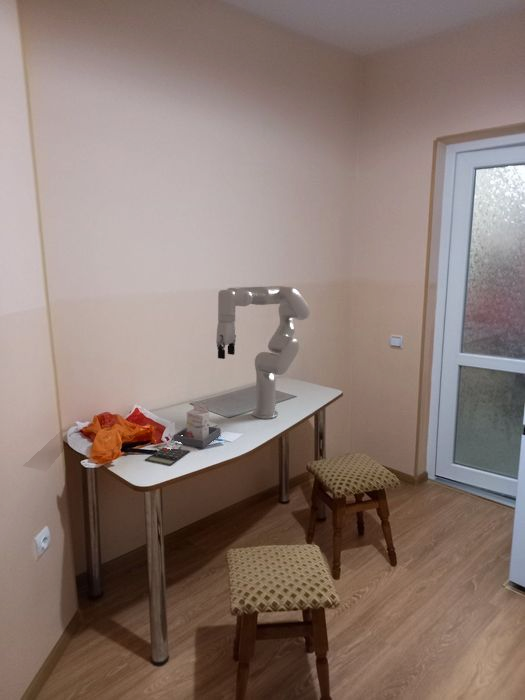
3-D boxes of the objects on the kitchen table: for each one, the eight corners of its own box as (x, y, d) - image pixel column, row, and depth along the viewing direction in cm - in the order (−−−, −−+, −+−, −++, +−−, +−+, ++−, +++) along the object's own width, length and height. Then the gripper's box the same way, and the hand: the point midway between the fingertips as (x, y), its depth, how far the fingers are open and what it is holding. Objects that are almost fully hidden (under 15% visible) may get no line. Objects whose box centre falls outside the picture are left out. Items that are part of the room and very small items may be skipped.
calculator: (190, 450, 204) (170, 464, 190) (190, 452, 204) (170, 467, 190) (165, 445, 208) (144, 459, 194) (165, 447, 208) (144, 461, 194)
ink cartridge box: (186, 438, 217) (186, 405, 214) (193, 434, 221) (193, 402, 218) (202, 442, 212) (202, 408, 209) (209, 438, 217) (209, 405, 214)
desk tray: (192, 431, 226) (192, 423, 226) (220, 436, 221) (220, 428, 221) (173, 443, 212) (173, 435, 211) (202, 449, 207) (203, 440, 206)
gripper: (227, 315, 232) (227, 352, 235) (209, 320, 216) (209, 359, 219) (242, 316, 229) (241, 353, 232) (225, 321, 213) (225, 361, 217)
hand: (226, 356), depth 226 cm, fingers open, 9 cm apart
